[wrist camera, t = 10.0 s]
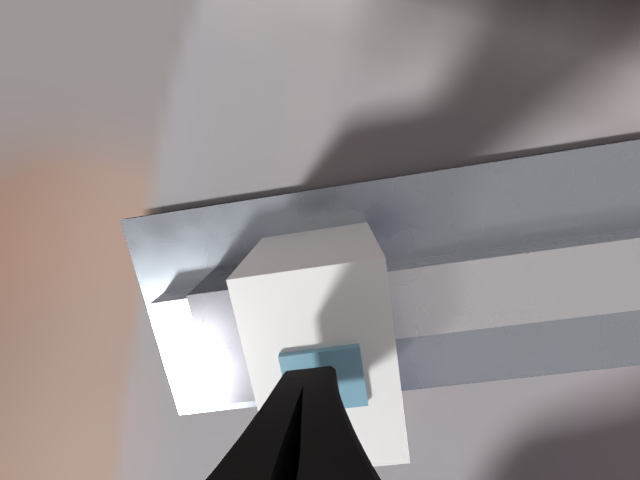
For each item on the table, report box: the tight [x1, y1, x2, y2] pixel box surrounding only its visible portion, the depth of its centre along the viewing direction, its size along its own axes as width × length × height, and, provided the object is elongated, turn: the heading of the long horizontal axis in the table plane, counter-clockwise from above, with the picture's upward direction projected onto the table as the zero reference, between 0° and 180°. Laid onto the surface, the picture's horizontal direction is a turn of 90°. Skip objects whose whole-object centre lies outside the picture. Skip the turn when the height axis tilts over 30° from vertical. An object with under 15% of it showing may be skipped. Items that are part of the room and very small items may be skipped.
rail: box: [120, 139, 640, 415], centre depth 13 cm, size 10×26×3 cm, turn 99°
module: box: [226, 222, 410, 467], centre depth 12 cm, size 7×4×5 cm, turn 9°
